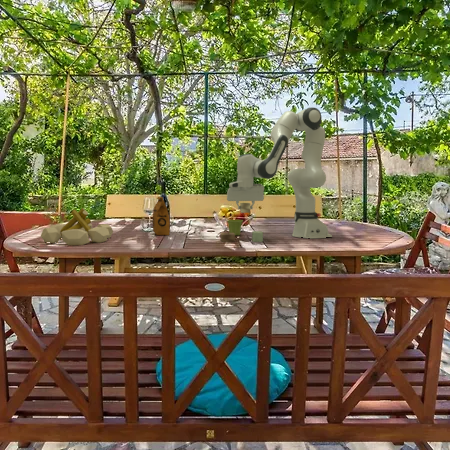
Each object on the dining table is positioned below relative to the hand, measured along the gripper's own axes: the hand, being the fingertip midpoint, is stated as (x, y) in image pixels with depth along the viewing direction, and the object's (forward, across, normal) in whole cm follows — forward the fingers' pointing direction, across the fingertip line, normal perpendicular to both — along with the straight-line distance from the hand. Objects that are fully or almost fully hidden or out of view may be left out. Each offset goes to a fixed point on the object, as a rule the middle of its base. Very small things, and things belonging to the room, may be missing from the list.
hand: (245, 209), depth 224 cm
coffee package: (+16, +48, -18) cm, 53 cm away
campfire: (+15, +89, +3) cm, 91 cm away
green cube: (+16, -6, +8) cm, 19 cm away
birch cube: (+2, 0, 0) cm, 2 cm away
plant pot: (+16, +4, -14) cm, 22 cm away
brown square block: (+16, +10, +8) cm, 21 cm away
